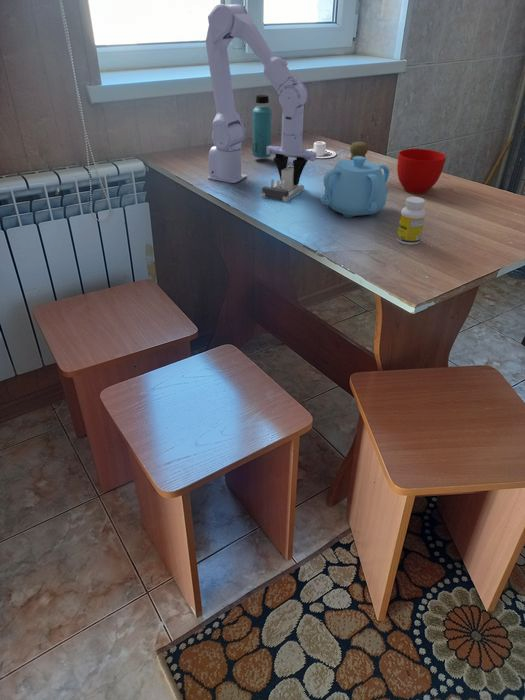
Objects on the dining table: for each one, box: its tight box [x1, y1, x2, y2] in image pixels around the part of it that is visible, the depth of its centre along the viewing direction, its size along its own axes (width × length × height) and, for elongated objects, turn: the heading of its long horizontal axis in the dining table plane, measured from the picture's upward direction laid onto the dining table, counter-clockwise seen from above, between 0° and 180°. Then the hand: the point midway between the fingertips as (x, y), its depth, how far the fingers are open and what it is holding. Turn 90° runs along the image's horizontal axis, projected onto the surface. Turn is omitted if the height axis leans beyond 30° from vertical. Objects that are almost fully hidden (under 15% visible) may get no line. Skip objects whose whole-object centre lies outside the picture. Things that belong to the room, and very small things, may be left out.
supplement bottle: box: [396, 196, 426, 246], centre depth 116 cm, size 5×5×10 cm
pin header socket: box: [260, 178, 305, 202], centre depth 144 cm, size 8×12×4 cm, turn 152°
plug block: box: [280, 165, 299, 192], centre depth 147 cm, size 4×4×6 cm
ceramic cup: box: [396, 148, 447, 194], centre depth 148 cm, size 13×17×10 cm
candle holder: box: [306, 140, 337, 159], centre depth 179 cm, size 12×12×4 cm
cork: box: [349, 141, 369, 160], centre depth 153 cm, size 6×6×11 cm
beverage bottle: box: [251, 94, 273, 159], centre depth 167 cm, size 6×7×20 cm
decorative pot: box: [320, 156, 390, 219], centre depth 131 cm, size 16×16×14 cm
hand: (289, 182), depth 148 cm, fingers closed on plug block, 3 cm apart
